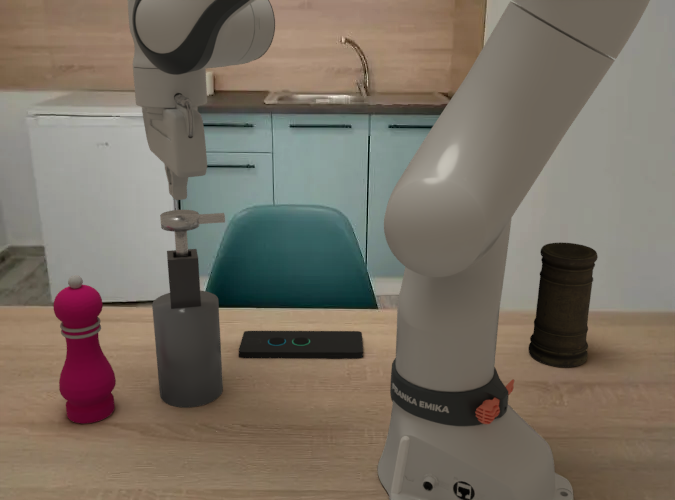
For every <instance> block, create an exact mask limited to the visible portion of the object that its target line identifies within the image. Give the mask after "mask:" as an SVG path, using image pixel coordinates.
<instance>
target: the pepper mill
mask: <svg viewBox="0 0 675 500" xmlns="http://www.w3.org/2000/svg"><path fill="white" fill-rule="evenodd" d="M83 282H84V281H83V278H82V277H81V275H78V274H73V275H70V277H69V278H68V281H67V283H68V286H67V287H64V288H62V289H61V290H60V291H58V293H57V294H56V296H55V297H54V300H53V313H54V315H55V317H56V318H57V319H58V320H59V321H60V325H59V327H60V330H61V331H60V334H61V335H62V336H63V337H64V338H65V342H66V344H65V345H66V356H65V361H64V364H63V365H62V369H61V372H60V376H59V382H58V384H59V385H58V387H59V388H58V390H59V394H60V395H61V396H62V398H63V399H64V400H65V401H66V402H65V411H66V417H67V418H68V419H69V421H71V422H73V423H76V424H92V423H97V422H99V421H103V420H105V419H106V418H108V417H109V416H111V415H112V414H113V413H114V411H115V408H116V403H115V398H114V397H115V396H114V395H113V391H114V389H115V387H116V385H117V380H116V375H115V371H114V369H113V367H112V365H111V363H110V361H109V359H107V357H106V356H105V354H104V352H103V349H102V348H101V344H100V339H99V332H100V331H101V330H102V326H101V319H100V317H99V315H100V314H101V313H102V310H103V307H104V305H103V299H102V296H101V294H100V293H99V291H98V290H97V289H95V287H92V286H91V285H88V284H84V283H83Z"/></svg>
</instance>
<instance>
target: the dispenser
mask: <svg viewBox="0 0 675 500" xmlns="http://www.w3.org/2000/svg"><path fill="white" fill-rule="evenodd" d="M166 257H167V270H168V274H167V275H168V282H169V283H168V284H169V292H167V293H164V294H162V295H160V296H158V297H157V298H155V299H154V300H153V302H152V304H151V307H152V309H151V310H152V317H153V318H152V319H153V321H152V322H153V329H154V332H153V333H154V343H155V354H156V365H157V366H156V367H157V377H158V388H159V389H158V390H159V398H160V400H161V401H162V402H163V403H165V404H167V405H168V406H171V407H175V408H183V409H184V408H195V407H196V408H197V407H202V406H205V405H207V404H208V405H209V404H210V403H212V402H214V401H215V400H216V401H217V399H218V398H219V397H220V396H221V395H222V393H223V391H224V386H223V383H224V382H223V367H222V366H223V365H222V363H223V362H222V346H221V345H222V343H221V328H220V326H221V325H220V324H221V323H220V310H219V309H220V307H219V305H220V304H219V298H218V296H217V295H216V294H215V293H213V292H209V291H205V290H201V282H200V269H199V268H200V266H199V263H200V262H199V255H198V250H197V248H188V257H179V258H176V249H175V250H173V249H172V250H167V251H166Z"/></svg>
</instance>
